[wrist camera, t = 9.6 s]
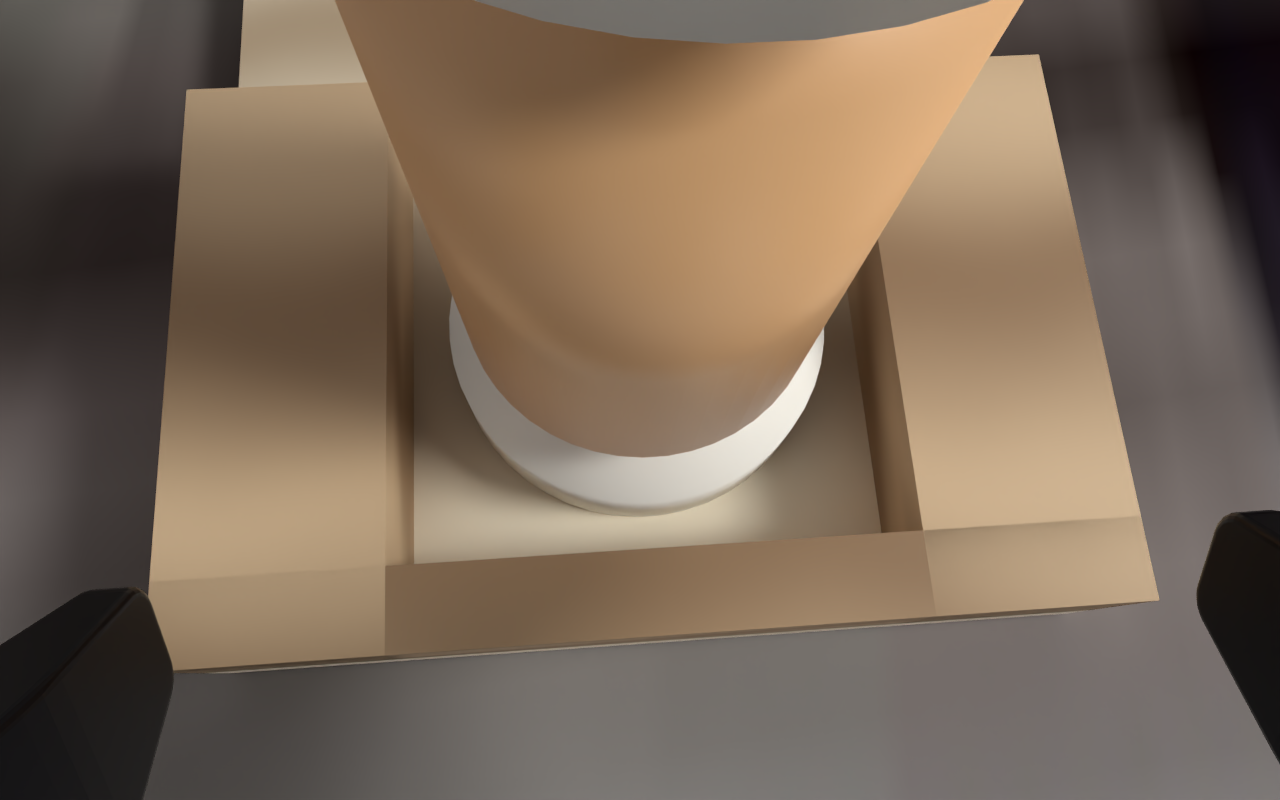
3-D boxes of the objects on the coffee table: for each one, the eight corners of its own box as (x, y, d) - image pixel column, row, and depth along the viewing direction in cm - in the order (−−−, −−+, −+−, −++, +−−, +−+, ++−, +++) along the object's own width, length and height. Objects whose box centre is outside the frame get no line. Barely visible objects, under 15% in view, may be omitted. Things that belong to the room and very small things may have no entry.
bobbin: (673, 591, 15) (1005, 132, 2) (387, 374, 16) (-424, -766, 3) (874, 314, 16) (1711, -834, 4) (603, 130, 17) (595, -1278, 5)
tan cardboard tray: (1061, 613, 16) (1158, 600, 13) (229, 673, 15) (142, 672, 12) (879, -333, 22) (919, -483, 19) (280, -321, 22) (229, -475, 19)
